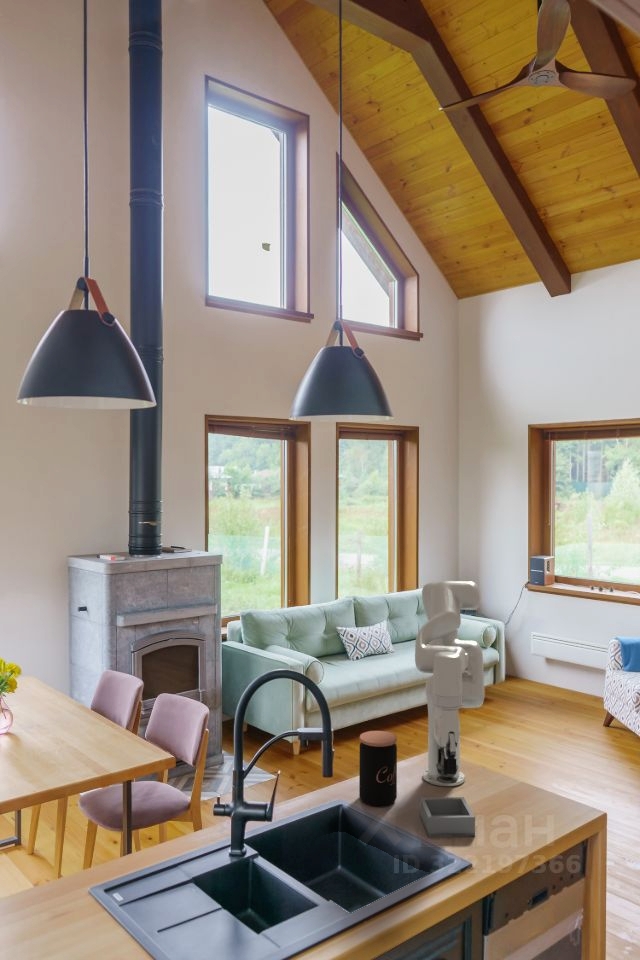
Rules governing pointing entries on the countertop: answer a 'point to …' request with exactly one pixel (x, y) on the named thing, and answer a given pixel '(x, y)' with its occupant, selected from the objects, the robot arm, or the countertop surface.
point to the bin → (447, 817)
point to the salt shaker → (440, 768)
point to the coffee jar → (378, 768)
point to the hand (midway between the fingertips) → (447, 767)
